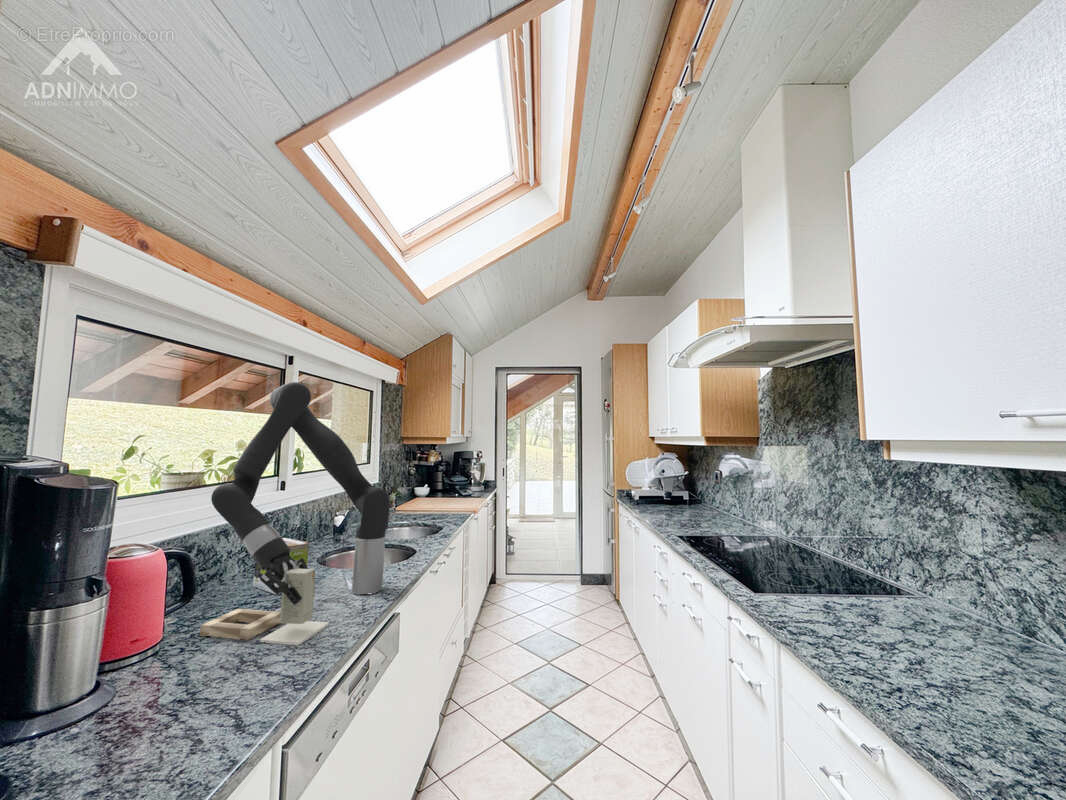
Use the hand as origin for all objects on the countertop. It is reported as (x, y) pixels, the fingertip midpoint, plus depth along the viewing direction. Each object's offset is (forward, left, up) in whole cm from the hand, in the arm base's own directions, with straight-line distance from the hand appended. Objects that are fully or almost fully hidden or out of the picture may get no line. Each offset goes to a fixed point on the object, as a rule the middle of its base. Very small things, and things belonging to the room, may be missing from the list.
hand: (304, 598), depth 108 cm
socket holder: (0, -17, -8) cm, 19 cm away
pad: (0, -2, -8) cm, 9 cm away
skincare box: (0, -2, -6) cm, 6 cm away
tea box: (-31, -31, -9) cm, 44 cm away
